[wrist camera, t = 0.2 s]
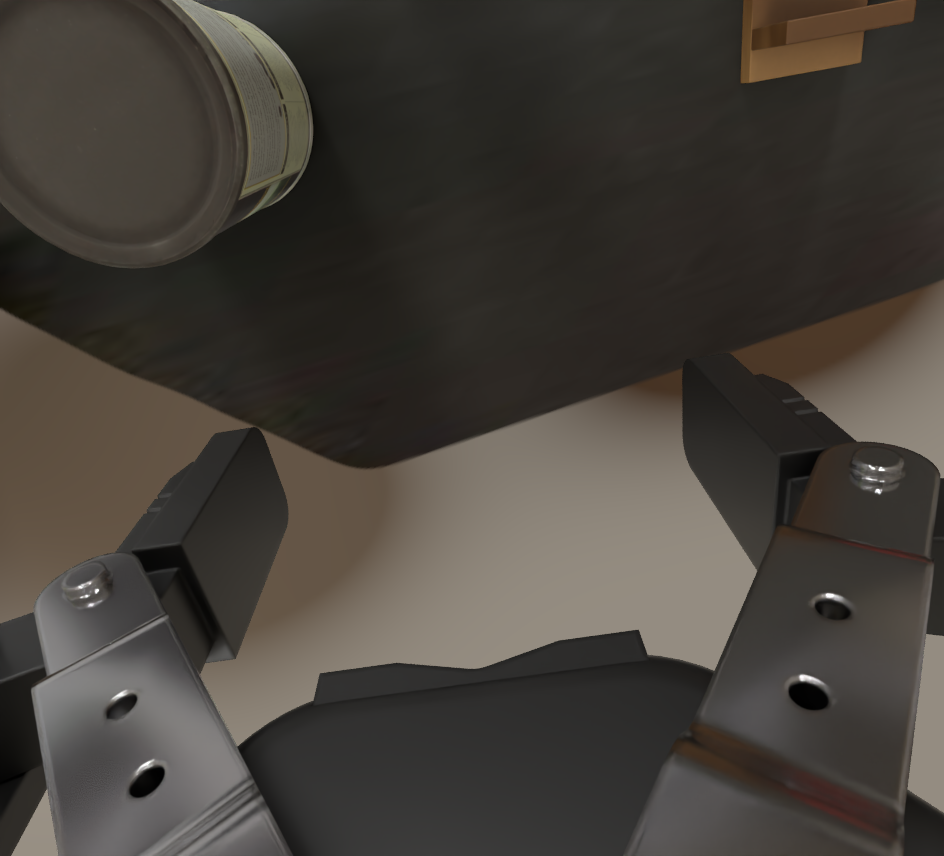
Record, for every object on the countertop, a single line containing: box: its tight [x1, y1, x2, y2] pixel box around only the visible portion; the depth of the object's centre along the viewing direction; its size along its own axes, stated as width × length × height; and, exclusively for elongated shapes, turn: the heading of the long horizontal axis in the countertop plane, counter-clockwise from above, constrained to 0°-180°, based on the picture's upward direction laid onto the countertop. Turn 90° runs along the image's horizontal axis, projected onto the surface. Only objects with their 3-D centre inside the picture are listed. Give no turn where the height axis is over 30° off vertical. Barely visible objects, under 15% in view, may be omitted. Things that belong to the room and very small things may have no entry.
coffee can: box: [0, 0, 313, 268], centre depth 29 cm, size 10×10×14 cm
